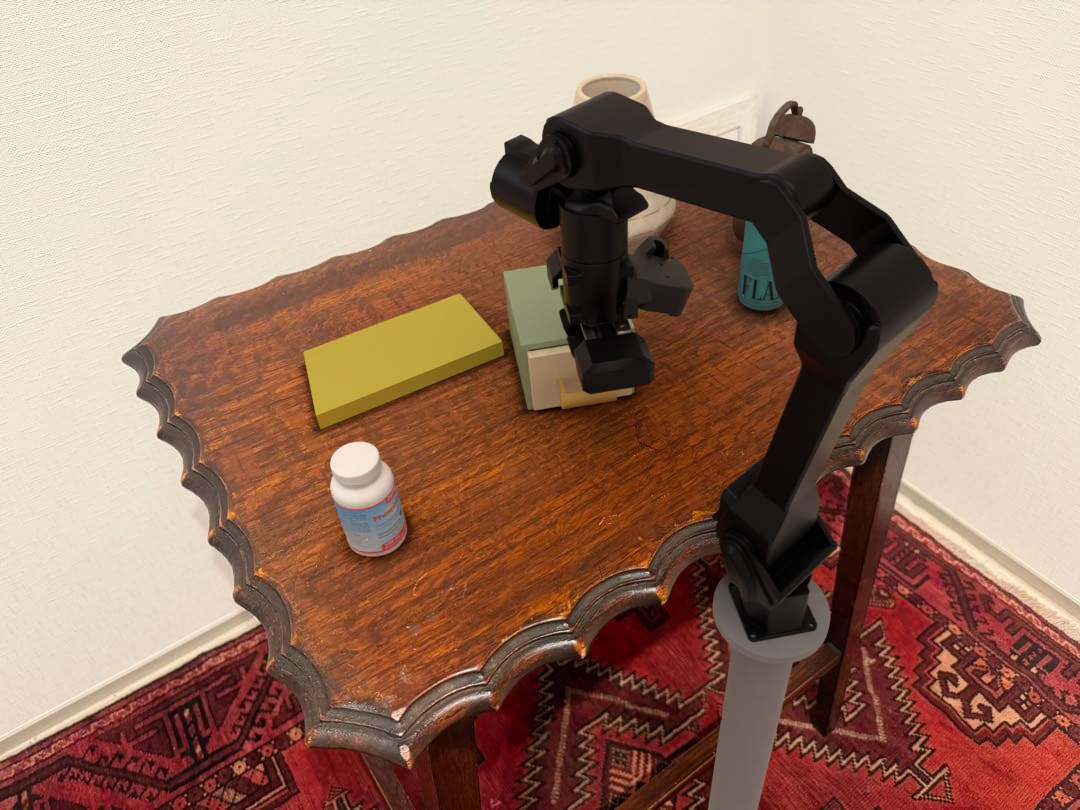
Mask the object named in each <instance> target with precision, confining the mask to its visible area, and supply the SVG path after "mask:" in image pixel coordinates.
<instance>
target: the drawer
mask: <svg viewBox="0 0 1080 810" xmlns="http://www.w3.org/2000/svg"><path fill="white" fill-rule="evenodd" d="M527 355H528V364H529V374H530V383H531V393H532V403H533V408H534V409H533V411H539V410H547V409H551V408H552V409H553V408H558V407H561V409H562V410H568V409H574V408H580V407H585V406H592V405H598V404H605V403H610V402H615V401H617V400H618V398H619V397H625V396H630V395H632V394H633V393H632V388H627V389H621V390H614V391H608V392H602V393H596V394H589V393H586V392H584V391H583V390H582V386H581V383H580V380H579V377H578V373H577V369H576V363H575V358H573V356H572V354H571V351H570V348H569V345H565V346H559V347H553V348H549V347H545V348H538V349H532V350H529V351H528V352H527Z"/></svg>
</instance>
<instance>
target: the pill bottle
mask: <svg viewBox="0 0 1080 810" xmlns="http://www.w3.org/2000/svg"><path fill="white" fill-rule="evenodd" d="M329 461H330V463H329V466H330V470H331V475H332V477H331V479H330V485H329V489H330V495H331V497H332V500H333V503H334V506H335V510H336V512H337V515H338V518H339V521H340V524H341V527H342V530H343V532H344V535H345V538H346V542H347V544H348V545H349V547H350V548H351V550H352V551H353V552H354V553H356V554H358V555H359V556H363V557H371V558H372V557H373V558H374V557H381V556H386V555H388V554H390V553H393V552H394V551H396V550H397V549H398V548H399V547H400V546H401V545H402V544H403V543H404V541H405V539H406V537H407V534H408V525H407V520H406V516H405V513H404V509H403V505H402V502H401V498H400V494H399V490H398V487H397V484H396V480H395V475H394V473H393V471H392V469H391V467H390V466H389V465H388V464H387V463H386V462H384V461H383V460H382V458H381V455H380V452H379V450H378V448H377V447H376V446H375V445H374V444H372V443H369V442H366V441H354V442H349V443H346V444H344V445H342V446H340V447H339V448H338V449H336V451H335V452H333V454H332V455H331V458H330V460H329Z"/></svg>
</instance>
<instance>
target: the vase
mask: <svg viewBox="0 0 1080 810" xmlns="http://www.w3.org/2000/svg"><path fill="white" fill-rule="evenodd" d="M613 91H614V92H617V93H619V94H621V95H624V96H626V97H628V98H630V99H633V100H635V101H637V102H639V103H642V104H644V105H645V106H647V107H648V109H649V110H650V112H651V113H652V115H653V116H654V118H655V119H656V116H655V114H654V113H655V112H654V110H653V105H652V101H651V98H650V94H649V90H648V86H647V84H646V82H645V81H644V80H642V79H641V78H640V77H637V76H635V75H632V74H626V73H604V74H598V75H594V76H590V77H587V78H586V79H584V80H582V81H580V82H579V83H578V85H577V86H576V90H575V93H574V97H573V102H572V106H571V107H573V106H576V105H578V104H580V103H582V102H584V101H586V100H589V99H591V98H593V97H595V96H597V95H599V94H602V93H604V92H613ZM634 189H635V190H636V191H637V192H639V193H641V194H642V195H643V196H644V198H645V199H646V200H647V202H648V204H649V206H648V208H647V209H646V210H644V211H642V212H641V213H639V214H637V215H635V216H633V217H632V218H630V219H628V254H634V252H635V250H636V249H637V248H638V247H639V246H640V245H641V244H642V243H643V242H644V241H645V240H646V239H647V238H648V237H649V236H654V237H660V238H661V235H663V232H664V231H665V229H667V227H668V225H669V224H670V222H671V220H672V219H673V217H674V215H675V213H676V211H677V207H678V206H677V205H678V200H676V199H672V198H669V197H666V196H662V195H659V194H656V193H653V192H649V191H646V190H643V189H639V188H634ZM557 228H559V229H560V226H558V227H557Z"/></svg>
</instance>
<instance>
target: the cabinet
mask: <svg viewBox="0 0 1080 810" xmlns="http://www.w3.org/2000/svg"><path fill="white" fill-rule="evenodd" d="M503 282H504V283H503V284H504V291H505V301H506V309H507V315H508V316H507V317H508V326H509V334H510V338H511V343H512V346H513V351H514V355H515V360H516V365H517V368H518V373H519V377H520V382H521V386H522V390H523V395H524V399H525V403H526V407H527V410H528V411H531V410H534V408H533V403H532V393H531V383H530V374H529V364H528V355H527V352H528V351H529V350H532V349H538V348H545V347H551V346H557V345H563V344H568V342H567V338H566V337H568V336H567V334H566V332H565V330H564V328H563V325H562V322H561V319H560V316H559V311H560V310H561V309H563V308H564V305H563V301H562V298H561V295H560V285H563V279H558V283H559V288H558V289H557V290H552V289H551V286H550V283H549V279H548V276H547V264H544V265H537V266H530V267H523V268H517V269H510V270H504V271H503ZM628 322H629V324H630V327H631V330H632V332H635V333H636V327H635V325H634V322H633V319H628ZM634 393H635V387H633V388H632V394H634Z"/></svg>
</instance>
